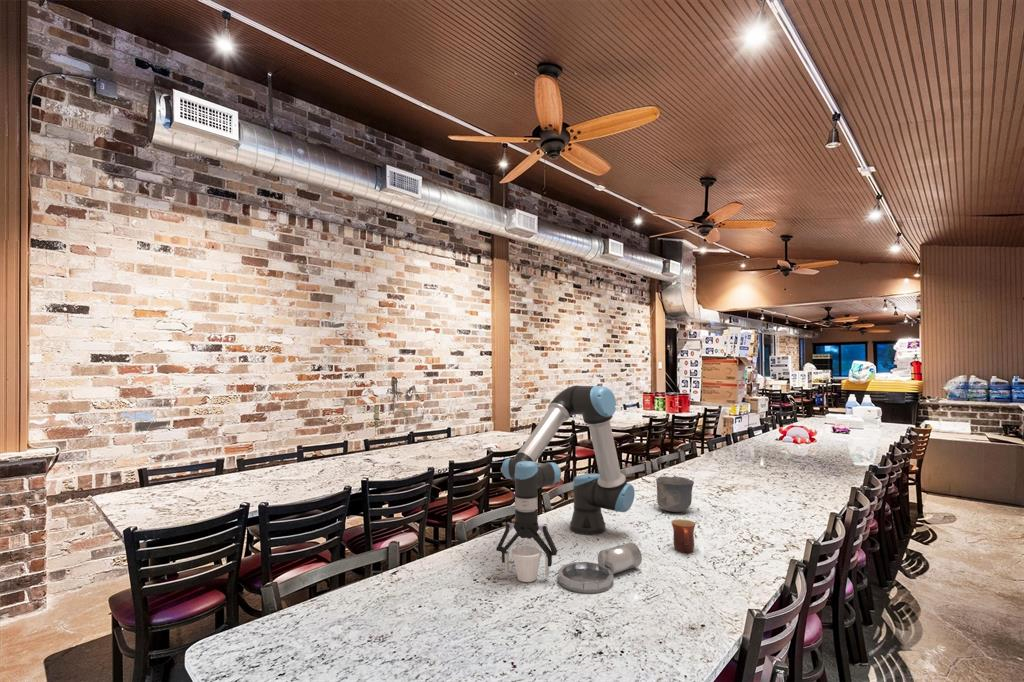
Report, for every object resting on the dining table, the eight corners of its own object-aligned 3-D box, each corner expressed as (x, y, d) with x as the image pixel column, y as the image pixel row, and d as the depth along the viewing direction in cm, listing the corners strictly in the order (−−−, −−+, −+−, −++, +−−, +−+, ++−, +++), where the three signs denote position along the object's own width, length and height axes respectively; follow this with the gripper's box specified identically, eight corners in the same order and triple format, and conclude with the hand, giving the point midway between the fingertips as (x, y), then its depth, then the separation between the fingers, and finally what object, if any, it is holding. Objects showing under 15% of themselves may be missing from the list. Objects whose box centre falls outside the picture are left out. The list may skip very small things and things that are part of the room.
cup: (545, 575, 169) (545, 547, 169) (537, 587, 160) (537, 558, 160) (517, 571, 172) (517, 543, 173) (507, 583, 163) (507, 554, 163)
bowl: (699, 509, 242) (698, 478, 243) (690, 519, 228) (689, 486, 228) (662, 504, 252) (661, 474, 253) (651, 513, 237) (651, 481, 238)
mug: (670, 545, 196) (670, 518, 196) (694, 546, 194) (693, 519, 194) (674, 556, 184) (673, 528, 184) (699, 558, 182) (698, 529, 182)
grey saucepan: (582, 599, 151) (582, 572, 152) (547, 578, 167) (546, 553, 167) (653, 575, 168) (652, 550, 168) (615, 557, 183) (614, 535, 184)
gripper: (487, 510, 166) (487, 575, 165) (562, 514, 161) (563, 582, 160) (493, 504, 173) (493, 566, 172) (564, 508, 168) (565, 572, 167)
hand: (526, 574), depth 166 cm, fingers open, 13 cm apart
